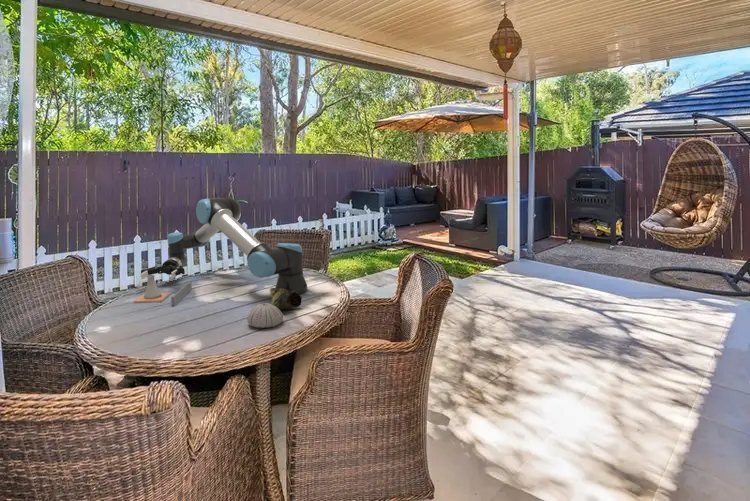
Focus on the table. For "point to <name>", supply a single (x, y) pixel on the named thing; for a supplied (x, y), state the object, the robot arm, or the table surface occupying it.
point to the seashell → (285, 299)
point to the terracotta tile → (158, 299)
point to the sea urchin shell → (265, 316)
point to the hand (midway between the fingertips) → (157, 276)
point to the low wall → (181, 294)
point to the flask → (151, 288)
